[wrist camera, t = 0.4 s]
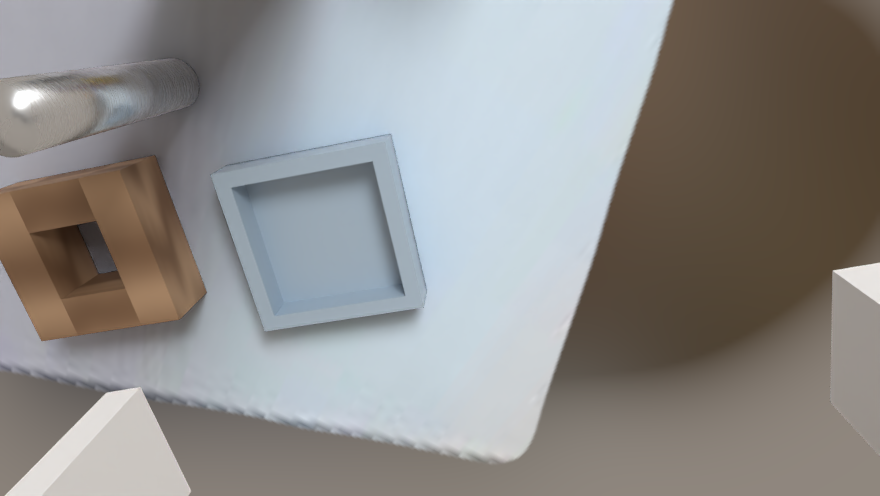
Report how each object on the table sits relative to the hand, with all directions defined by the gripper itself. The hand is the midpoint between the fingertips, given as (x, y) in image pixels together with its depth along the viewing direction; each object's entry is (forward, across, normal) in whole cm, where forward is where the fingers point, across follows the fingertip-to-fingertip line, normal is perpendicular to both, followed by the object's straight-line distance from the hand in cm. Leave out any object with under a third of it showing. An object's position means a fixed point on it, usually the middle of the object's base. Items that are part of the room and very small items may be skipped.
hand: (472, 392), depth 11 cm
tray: (+26, -11, -4) cm, 29 cm away
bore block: (+26, -26, -2) cm, 37 cm away
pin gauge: (+27, -18, +7) cm, 33 cm away
